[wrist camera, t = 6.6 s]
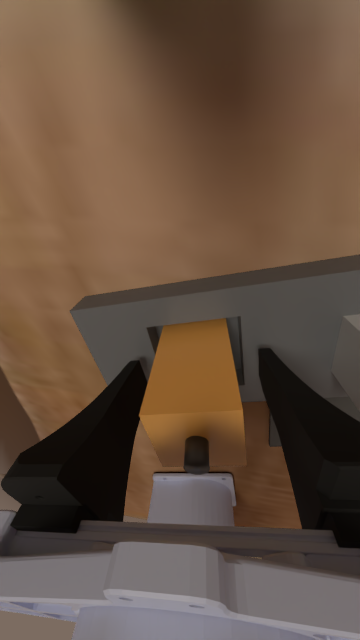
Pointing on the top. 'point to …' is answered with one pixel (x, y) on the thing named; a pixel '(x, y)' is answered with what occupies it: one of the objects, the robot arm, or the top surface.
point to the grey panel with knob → (242, 323)
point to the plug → (195, 399)
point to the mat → (339, 402)
